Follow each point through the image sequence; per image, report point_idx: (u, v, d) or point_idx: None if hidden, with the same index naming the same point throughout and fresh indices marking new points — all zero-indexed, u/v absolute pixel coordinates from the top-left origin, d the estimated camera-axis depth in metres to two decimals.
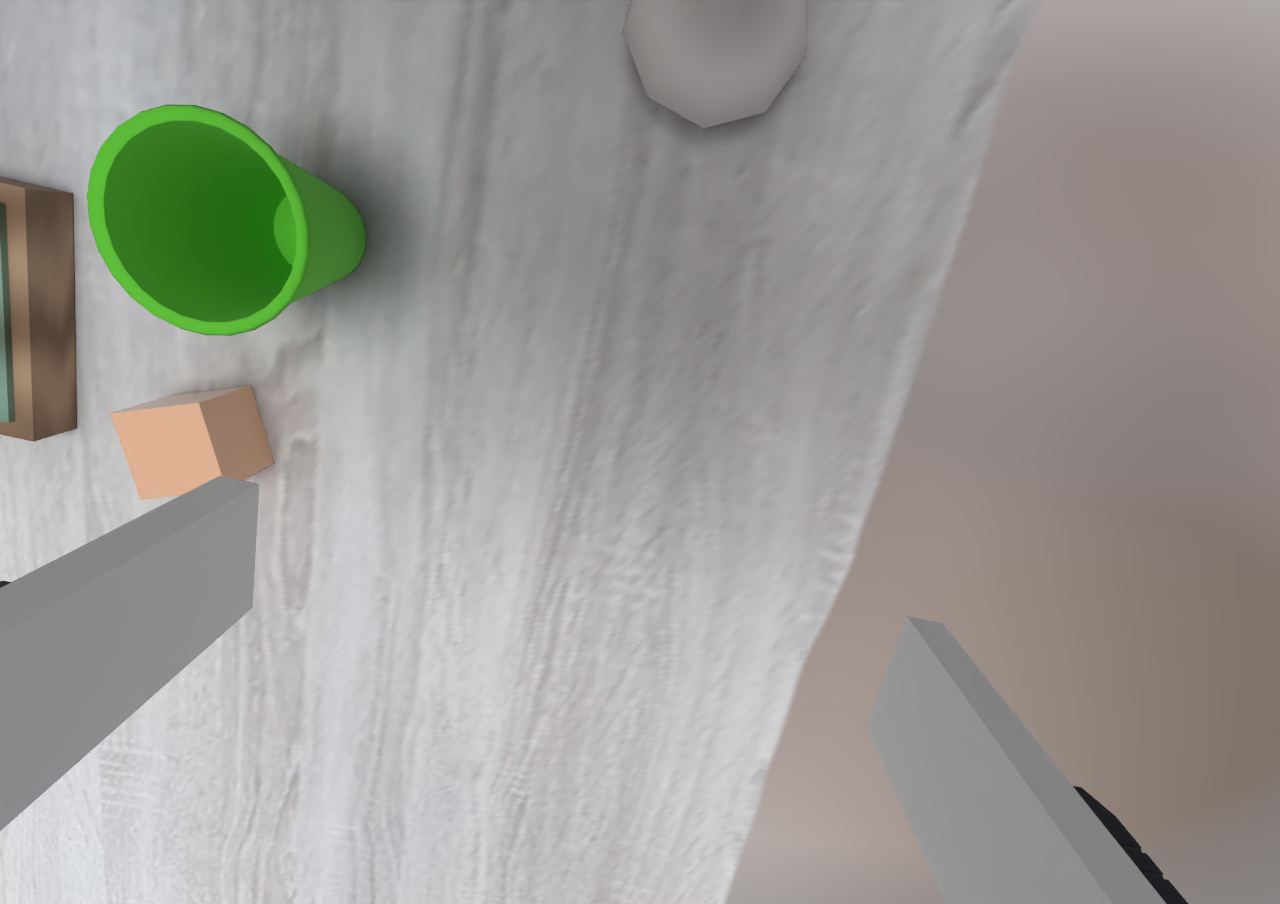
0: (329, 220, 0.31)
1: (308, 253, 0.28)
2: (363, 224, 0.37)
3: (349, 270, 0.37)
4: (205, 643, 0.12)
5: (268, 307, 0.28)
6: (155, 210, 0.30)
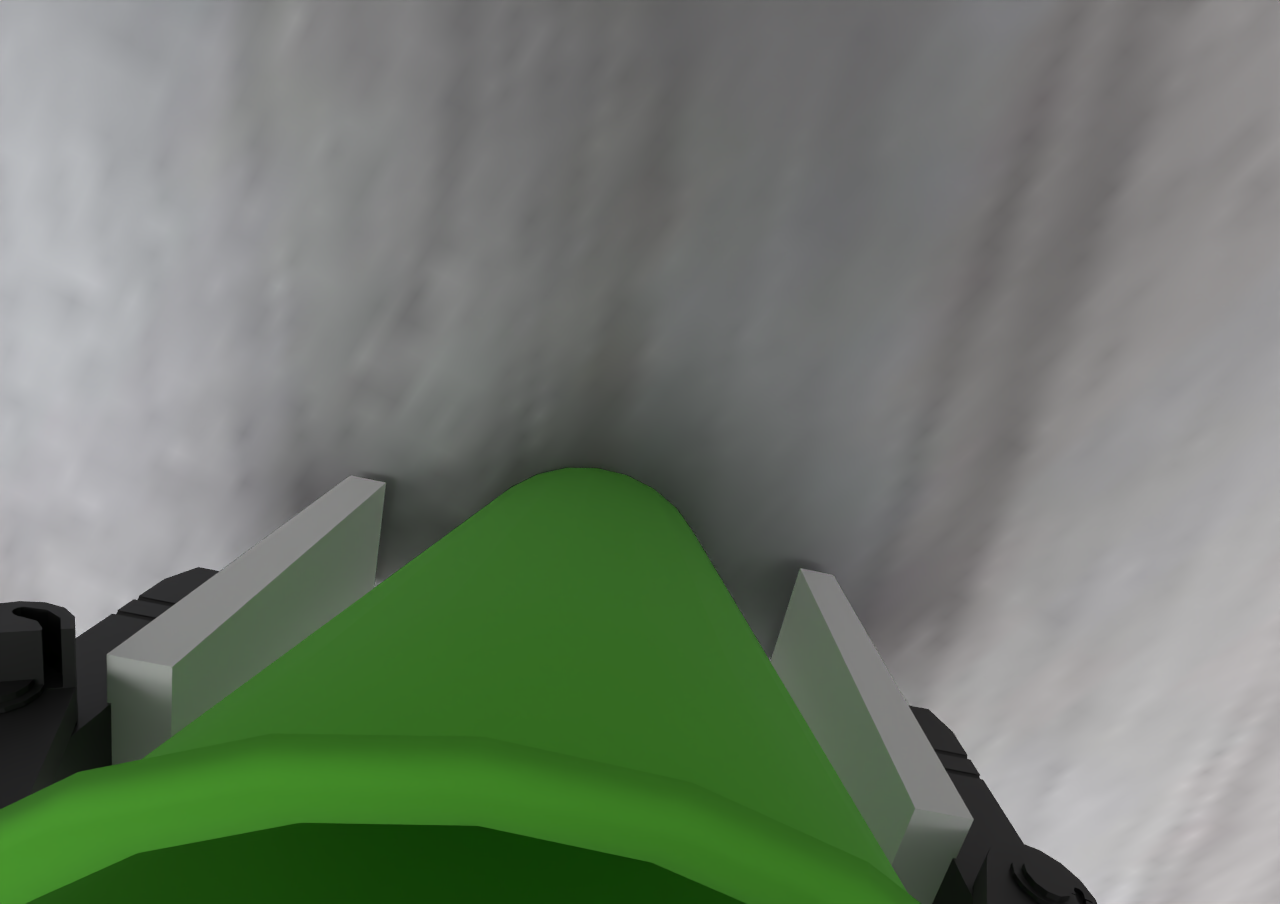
0: None
1: None
2: None
3: None
4: None
5: None
6: (173, 874, 0.07)
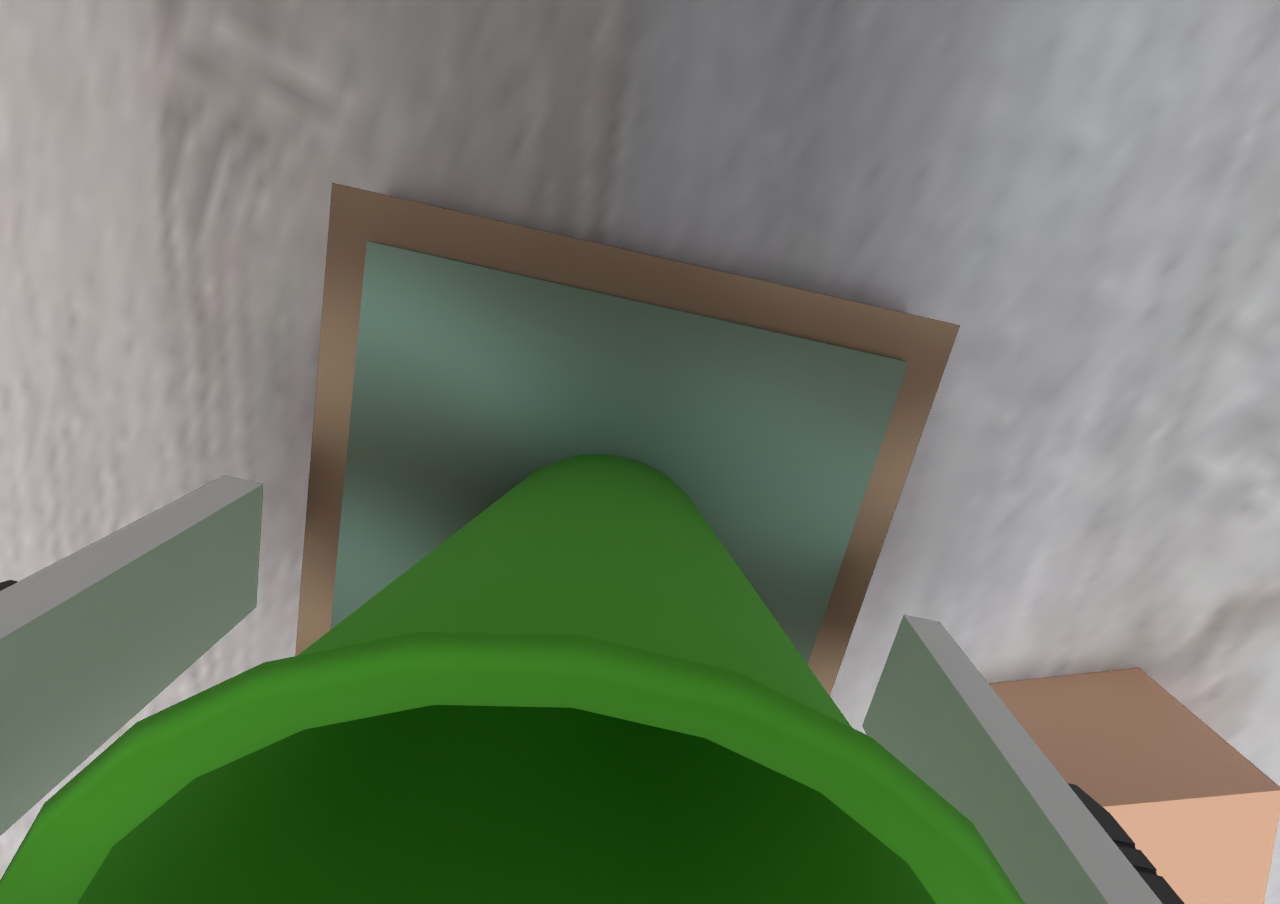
0: None
1: None
2: None
3: None
4: (210, 642, 0.12)
5: None
6: (260, 797, 0.08)
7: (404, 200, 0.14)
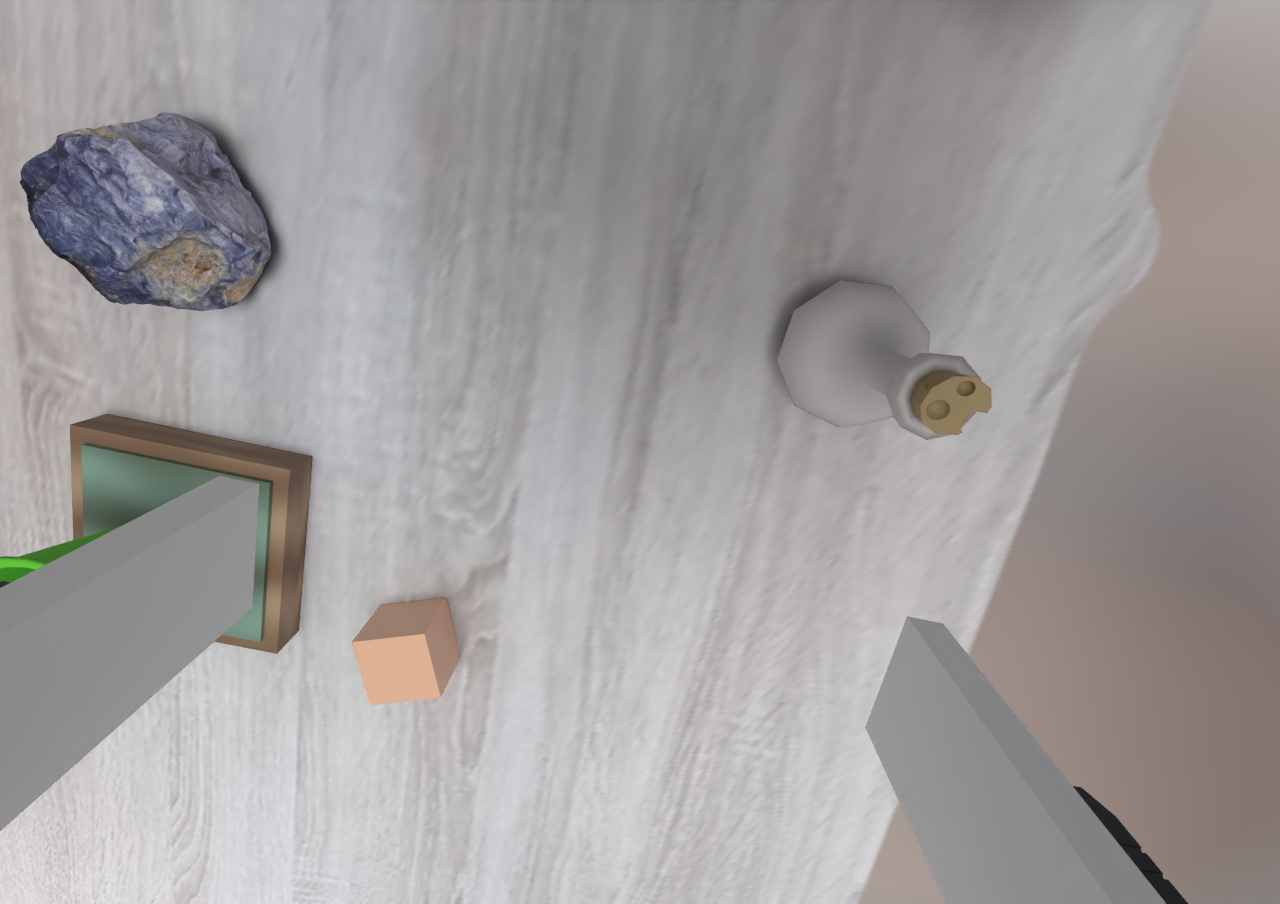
0: None
1: None
2: None
3: None
4: (205, 643, 0.12)
5: None
6: None
7: (94, 430, 0.42)
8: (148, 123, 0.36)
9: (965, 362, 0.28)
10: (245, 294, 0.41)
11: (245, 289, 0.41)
